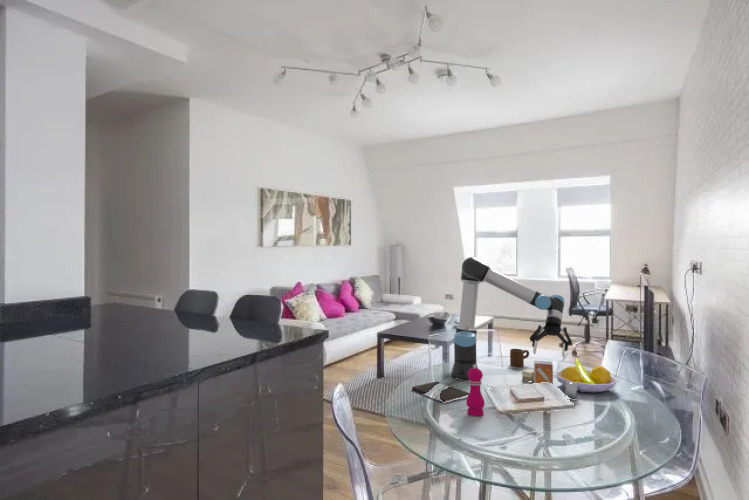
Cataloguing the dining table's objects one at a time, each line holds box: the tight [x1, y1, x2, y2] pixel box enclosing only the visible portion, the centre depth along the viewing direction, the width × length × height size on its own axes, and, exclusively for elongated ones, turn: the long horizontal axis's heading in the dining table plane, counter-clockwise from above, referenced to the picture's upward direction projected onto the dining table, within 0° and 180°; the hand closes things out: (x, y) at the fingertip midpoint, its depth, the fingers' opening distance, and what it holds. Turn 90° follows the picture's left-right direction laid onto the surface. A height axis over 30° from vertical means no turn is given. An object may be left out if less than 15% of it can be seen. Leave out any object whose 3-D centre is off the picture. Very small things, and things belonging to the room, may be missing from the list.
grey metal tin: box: [564, 381, 578, 400], centre depth 188 cm, size 5×5×7 cm
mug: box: [509, 348, 530, 368], centre depth 248 cm, size 12×8×9 cm, turn 103°
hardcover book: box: [411, 381, 470, 402], centre depth 196 cm, size 16×23×2 cm
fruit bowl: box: [554, 358, 618, 393], centre depth 204 cm, size 28×27×11 cm
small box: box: [533, 360, 554, 385], centre depth 202 cm, size 8×6×13 cm
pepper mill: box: [465, 364, 485, 417], centre depth 170 cm, size 7×7×20 cm
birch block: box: [521, 368, 534, 382], centre depth 217 cm, size 5×5×5 cm
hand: (548, 354), depth 208 cm, fingers open, 13 cm apart
